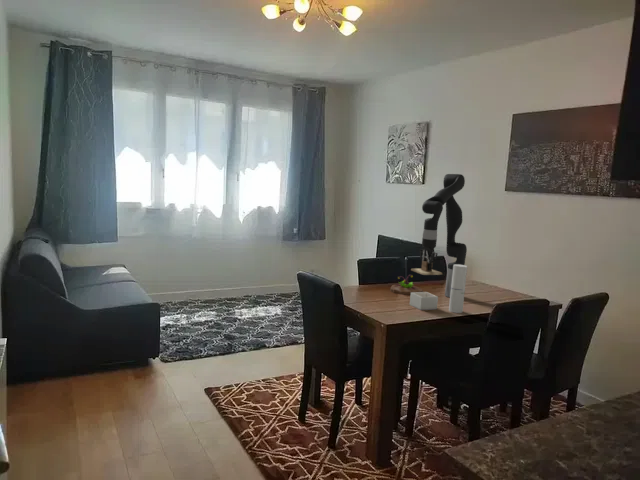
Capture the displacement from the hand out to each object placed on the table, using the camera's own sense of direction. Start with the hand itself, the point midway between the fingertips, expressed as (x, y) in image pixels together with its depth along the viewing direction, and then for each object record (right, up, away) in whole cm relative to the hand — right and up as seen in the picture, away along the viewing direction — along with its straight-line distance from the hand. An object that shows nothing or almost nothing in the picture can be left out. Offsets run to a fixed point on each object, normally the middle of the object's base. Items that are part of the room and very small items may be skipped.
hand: (426, 269), depth 252 cm
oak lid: (0, -2, 0) cm, 2 cm away
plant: (-4, -17, +38) cm, 42 cm away
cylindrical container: (+15, -23, -1) cm, 27 cm away
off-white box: (-1, -21, +3) cm, 21 cm away
